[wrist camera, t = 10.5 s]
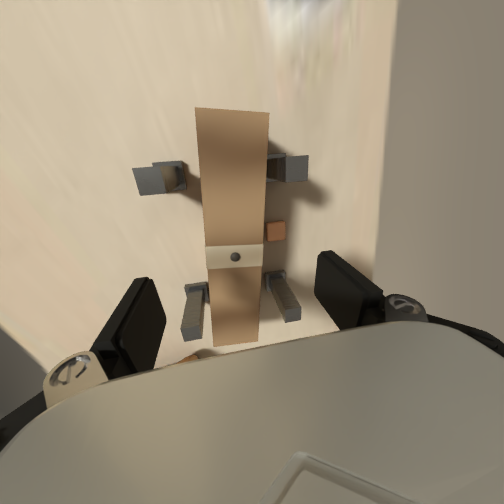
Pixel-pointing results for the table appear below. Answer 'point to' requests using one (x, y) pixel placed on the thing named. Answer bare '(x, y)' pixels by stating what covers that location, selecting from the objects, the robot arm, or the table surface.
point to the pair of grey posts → (199, 296)
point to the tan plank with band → (233, 217)
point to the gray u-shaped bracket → (173, 178)
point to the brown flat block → (275, 231)
